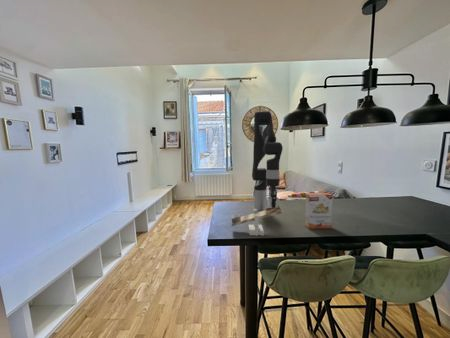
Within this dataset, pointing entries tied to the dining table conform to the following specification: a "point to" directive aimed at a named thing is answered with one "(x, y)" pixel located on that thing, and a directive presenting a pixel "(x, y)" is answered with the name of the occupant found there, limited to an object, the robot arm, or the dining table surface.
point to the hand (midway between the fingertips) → (272, 205)
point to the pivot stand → (256, 226)
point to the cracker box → (318, 210)
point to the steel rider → (270, 202)
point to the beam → (251, 217)
